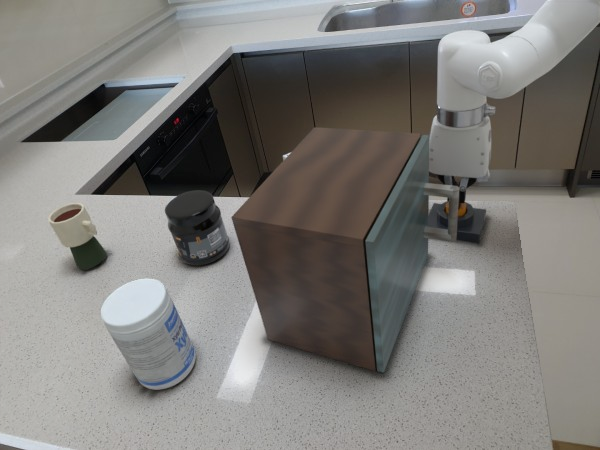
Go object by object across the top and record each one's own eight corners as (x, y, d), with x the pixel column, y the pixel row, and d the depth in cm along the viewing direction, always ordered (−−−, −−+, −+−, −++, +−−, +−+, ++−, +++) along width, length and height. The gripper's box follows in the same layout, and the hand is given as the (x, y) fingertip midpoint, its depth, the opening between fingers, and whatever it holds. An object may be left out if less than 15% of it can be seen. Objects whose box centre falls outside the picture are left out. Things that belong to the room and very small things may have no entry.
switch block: (485, 218, 90) (487, 201, 87) (478, 243, 84) (480, 226, 82) (433, 211, 94) (433, 195, 92) (423, 235, 88) (423, 218, 86)
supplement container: (187, 237, 100) (169, 191, 93) (234, 232, 99) (220, 185, 92) (175, 270, 92) (154, 222, 85) (226, 265, 90) (210, 216, 83)
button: (467, 208, 87) (467, 200, 86) (463, 219, 85) (464, 211, 84) (447, 205, 89) (448, 198, 88) (443, 216, 87) (444, 209, 86)
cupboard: (421, 255, 84) (421, 133, 70) (375, 371, 66) (362, 239, 52) (331, 239, 92) (314, 127, 78) (267, 339, 74) (230, 217, 59)
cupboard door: (457, 260, 81) (465, 137, 67) (420, 384, 63) (420, 250, 49) (422, 254, 84) (422, 134, 70) (377, 371, 66) (365, 240, 52)
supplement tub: (205, 371, 71) (175, 305, 62) (145, 404, 68) (105, 338, 59) (186, 332, 78) (157, 267, 69) (131, 359, 75) (94, 295, 66)
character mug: (123, 253, 99) (99, 204, 91) (102, 276, 94) (74, 225, 86) (85, 248, 103) (58, 200, 95) (62, 269, 98) (32, 220, 90)
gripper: (512, 104, 75) (501, 198, 85) (420, 102, 81) (421, 189, 92) (507, 124, 69) (496, 222, 80) (409, 120, 76) (411, 210, 87)
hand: (456, 204), depth 86 cm, fingers closed
